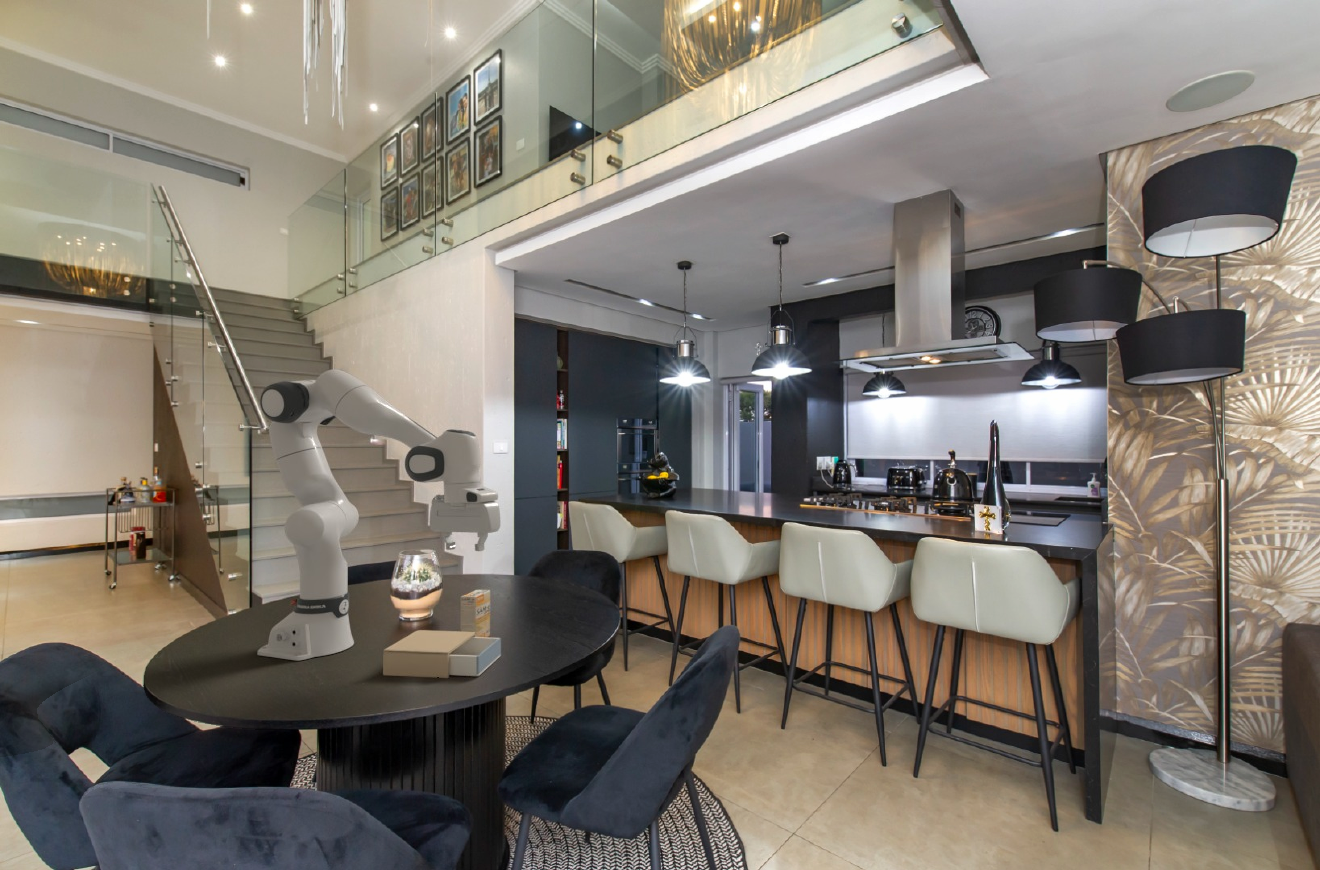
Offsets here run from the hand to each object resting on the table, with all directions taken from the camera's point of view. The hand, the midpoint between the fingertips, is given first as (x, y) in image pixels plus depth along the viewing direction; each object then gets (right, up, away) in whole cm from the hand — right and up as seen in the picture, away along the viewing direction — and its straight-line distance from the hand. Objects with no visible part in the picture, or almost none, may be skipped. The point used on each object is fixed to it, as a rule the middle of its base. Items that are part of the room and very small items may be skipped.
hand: (465, 550), depth 142 cm
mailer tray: (0, -28, -2) cm, 28 cm away
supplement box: (-3, -29, +16) cm, 33 cm away
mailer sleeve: (-8, -28, -1) cm, 29 cm away
